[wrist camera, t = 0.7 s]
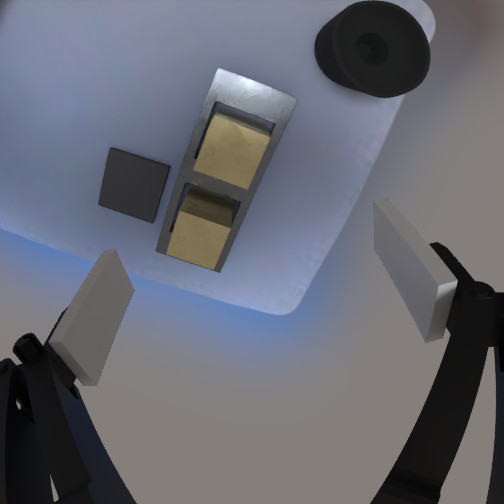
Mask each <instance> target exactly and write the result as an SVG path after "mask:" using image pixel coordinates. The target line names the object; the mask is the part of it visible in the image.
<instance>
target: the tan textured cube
mask: <svg viewBox="0 0 504 504" xmlns="http://www.w3.org/2000/svg"><path fill="white" fill-rule="evenodd" d="M233 205H234V199H233V198H230V197H227V196H224V195H221V194H219V193H216V192H213V191H210V190H207V189H205V188H202V187H199V186H196V185H193V184H192V185H191V187H190V189H189V191H188V193H187V196H186V198H185V200H184V202H183V204H182V206H181V209H180V211H179V214H178V217H177V220H176V223H175V226H174V230H173V233H172V236H171V239H170V243H169V246H168V249H167V253H166V254H167V255H170V256H173V257H176V258H179V259H182V260H185V261H188V262H191V263H194V264H197V265H200V266H203V267H206V268H209V269H212V270H214V268H215V266H216V263H217V261H218V258H219V256H220V254H221V251H222V249H223V246H224V244H225V242H226V239H227V237H228V235H229V232H230V230H231V224H232V215H233Z"/></svg>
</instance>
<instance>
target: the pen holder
mask: <svg viewBox="0 0 504 504" xmlns="http://www.w3.org/2000/svg"><path fill="white" fill-rule="evenodd" d="M315 56H316V60H317V62H318V64H319V66H320V68H321V70H322V71H323V72H324V73H325V74H326V75H327V76H328V77H329V78H330V79H331V80H332V81H334V82H336V83H338V84H340V85H342V86H345V87H347V88H350V89H354V90H357V91H360V92H363V93H366V94H369V95H372V96H375V97H379V98H390V97H395V96H399V95H402V94H405V93H407V92H409V91H411V90H413V89H414V88H416V87H417V86H419V85H420V83H422V81H423V80H424V78H425V77H426V75H427V72H428V69H429V66H430V48H429V43H428V40H427V37H426V35H425V33H424V31H423V29H422V27H421V26H420V24H419V23H418V22H417V20H416V19H415V18H414V17H413V16H412V15H411V14H410V13H409V12H407V11H406V10H405V9H403V8H401V7H400V6H398V5H395V4H393V3H389V2H385V1H376V0H372V1H361V2H357V3H354V4H352V5H350V6H348V7H347V8H345V9H344V10H343V11H341V12H340V13H339V14H338V15H336V16H335V17H334V18H333V19H331V20H330V21H329V22H328V23H327V24H326V25H325V26H324V27H323V28H322V29H321V30H320V32H319V33H318V35H317V38H316V41H315Z"/></svg>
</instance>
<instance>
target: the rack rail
mask: <svg viewBox="0 0 504 504" xmlns="http://www.w3.org/2000/svg"><path fill="white" fill-rule="evenodd" d="M297 100H298V99H297V98H295V97H293V96H290V95H288V94H286V93H283V92H281V91H279V90H276V89H274V88H271V87H269V86H266V85H264V84H261V83H259V82H256V81H254V80H251V79H248V78H246V77H243V76H240V75H237V74H235V73H232V72H229V71H226V70H223V69H220V68H218V70H217V73H216V75H215V77H214V80H213V82H212V85H211V87H210V90H209V92H208V95H207V97H206V100H205V102H204V105H203V107H202V110H201V113H200V115H199V118H198V121H197V123H196V126H195V129H194V132H193V134H192V137H191V140H190V143H189V146H188V148H187V151H186V154H185V157H184V160H183V163H182V166H181V169H180V172H179V175H178V178H177V181H176V184H175V187H174V190H173V194H172V197H171V200H170V203H169V207H168V210H167V213H166V217H165V220H164V223H163V227H162V230H161V234H160V237H159V241H158V244H157V248H156V252H159V253H162V254H165V255H167V254H166V253H167V249H168V246H169V243H170V239H171V236H172V233H173V230H174V226H175V225H173V221H174V218H175V215H176V212H177V209H178V205H179V202H180V199H181V196H182V193H183V190H184V187H185V184H186V182H187V183H190V184H193V185H196V186H199V187H202V188H205V189H207V190H210V191H213V192H216V193H219V194H221V195H224V196H227V197H230V198H233V199H235V200H238V201H240V202H239V204H238V206H237V209H236V211H235V213H234V216H233V218H232V224H231V230H230V232H229V235H228V237H227V239H226V242H225V244H224V246H223V249H222V251H221V254H220V256H219V258H218V261H217V263H216V266H215V268H214V270H213V271H216V272H219V273H220V272H221V269H222V267H223V265H224V263H225V260H226V258H227V256H228V253H229V251H230V249H231V246H232V244H233V242H234V239H235V237H236V235H237V233H238V230H239V228H240V226H241V224H242V221H243V219H244V217H245V214H246V212H247V210H248V208H249V205H250V203H251V201H252V199H253V196H254V194H255V192H256V190H257V187H258V185H259V183H260V181H261V178H262V176H263V174H264V172H265V170H266V167H267V165H268V163H269V161H270V159H271V156H272V154H273V152H274V150H275V148H276V145H277V143H278V141H279V139H280V137H281V134H282V132H283V130H284V128H285V126H286V123H287V121H288V119H289V117H290V115H291V113H292V111H293V108H294V106H295V104H296V102H297ZM216 101H218V102H221V103H224V104H226V105H229V106H232V107H235V108H237V109H240V110H243V111H245V112H248V113H251V114H253V115H256V116H258V117H261V118H263V119H266V120H268V121H271V122H273V123H274V124H273V126H272V129H271V131H270V133H269V134H270V137H271V138H270V140H269V142H268V145H267V147H266V149H265V151H264V154H263V156H262V158H261V160H260V163H259V165H258V167H257V169H256V172H255V174H254V176H253V179H252V181H251V183H250V186H249V188H248V190H247V189H245V188H242V187H239V186H237V185H234V184H231V183H228V182H226V181H223V180H220V179H217V178H214V177H212V176H209V175H206V174H203V173H200V172H197V171H195V170H193V169H194V166H195V164H196V161H197V158H198V154H196V153H197V150H198V147H199V145H200V142H201V139H202V136H203V134H204V131H205V128H206V126H207V123H208V121H209V118H210V115H211V113H212V110H213V108H214V105H215V103H216ZM168 256H170V255H168ZM171 257H173V256H171ZM174 258H176V257H174ZM177 259H179V258H177ZM180 260H182V259H180ZM183 261H185V260H183ZM186 262H188V261H186ZM189 263H191V262H189ZM192 264H194V263H192ZM195 265H197V264H195ZM198 266H200V265H198ZM201 267H203V266H201ZM204 268H206V267H204ZM207 269H209V268H207ZM210 270H212V269H210Z"/></svg>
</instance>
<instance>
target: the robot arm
mask: <svg viewBox="0 0 504 504" xmlns="http://www.w3.org/2000/svg"><path fill="white" fill-rule="evenodd" d="M373 205H374V250H375V251H376V253H377V255H378V256H379V258H380V260H381V261H382V263H383V265H384V267H385V268H386V270H387V272H388V273H389V275H390V277H391V279H392V280H393V282H394V284H395V286H396V287H397V289H398V291H399V293H400V295H401V297H402V298H403V300H404V302H405V304H406V306H407V308H408V309H409V311H410V313H411V315H412V317H413V319H414V321H415V323H416V324H417V327H418V328H419V330H420V333H421V335H422V337H423V338H424V341H425V343H428V342H431V341H435V340H438V339H441V338H443V336H444V332H445V329H446V327H447V329H448V331H449V333H450V334H451V335H450V338H449V341H448V344H447V348H446V350H445V353H444V356H443V359H442V362H441V364H440V367H439V370H438V372H437V375H436V378H435V380H434V383H433V385H432V388H431V390H430V392H429V395H428V397H427V400H426V402H425V404H424V406H423V409H422V411H421V413H420V415H419V417H418V420H417V422H416V424H415V426H414V428H413V430H412V432H411V434H410V436H409V438H408V440H407V442H406V444H405V446H404V448H403V450H402V451H401V453H400V455H399V457H398V459H397V461H396V462H395V464H394V466H393V468H392V470H391V471H390V473H389V475H388V476H387V478H386V480H385V481H384V483H383V484H382V486H381V488H380V489H379V491H378V492H377V494H376V496H375V497H374V498H373V500H372V502H371V503H370V504H438V502H439V498H440V490H441V487H442V485H443V483H444V481H445V479H446V476H447V474H448V472H449V470H450V468H451V465H452V463H453V461H454V458H455V456H456V453H457V451H458V448H459V446H460V443H461V441H462V438H463V435H464V433H465V430H466V427H467V424H468V421H469V418H470V415H471V412H472V409H473V406H474V402H475V399H476V395H477V392H478V388H479V385H480V381H481V377H482V373H483V369H484V365H485V361H486V356H487V351H488V347H494V355H495V373H496V424H495V440H494V452H493V462H492V470H491V477H490V484H489V490H488V496H487V501H486V504H504V292H502V293H501V292H498V293H497V292H495V291H494V289H493V288H492V287H491V286H490V285H488V284H486V283H483V282H479V281H474V279H473V278H472V277H471V276H470V274H469V273H468V272H467V271H466V269H465V268H464V267H463V266H462V265H461V263H460V262H458V260H457V259H456V258H455V257H454V256H453V254H452V253H451V252H450V251H449V249H448V248H446V247H445V246H443V245H441V244H440V243H438V242H435V243H431V244H428V243H427V241H426V240H425V239H424V238H423V237H422V236H421V234H420V233H419V232H418V231H417V230H416V229H415V227H414V226H413V225H412V224H411V223H410V222H409V221H408V220H407V219H406V217H405V216H404V215H403V214H402V213H401V212H400V211H399V210H398V209H397V208H396V206H395V205H394V204H393V203H392V202H391V201H390V200H389V199H388V198H385V199H379V200H374V201H373ZM133 293H134V288H133V286H132V284H131V282H130V280H129V278H128V275H127V273H126V271H125V269H124V267H123V265H122V263H121V261H120V258H119V256H118V254H117V252H116V250H115V249H112V250H108V251H103V253H102V254H101V256H100V257H99V259H98V260H97V262H96V263H95V265H94V266H93V268H92V270H91V271H90V273H89V274H88V276H87V277H86V279H85V281H84V282H83V284H82V285H81V287H80V289H79V290H78V292H77V293H76V295H75V297H74V298H73V300H72V302H71V303H70V305H69V306H68V307H67V308H66V309H65V310H64V311H63V312H62V314H61V316H60V317H59V319H58V322H56V324H55V326H54V328H53V329H52V331H51V333H50V335H49V336H48V338H47V340H46V342H45V344H44V346H43V345H42V344H41V343H40V341H39V340H38V339H37V337H36V336H35V335H34V334H33V333H28V334H25V335H23V336H22V337H21V338H19V339H18V340H17V342H16V343H15V345H14V347H13V352H14V354H15V355H16V356H17V357H18V359H19V360H20V361H21V362H22V364H19V365H16V364H15V363H14V362H13V361H12V360H11V359H10V358H7V359H4V360H3V361H1V362H0V504H137V503H136V502H135V500H134V499H133V497H132V495H131V494H130V492H129V490H128V489H127V487H126V486H125V484H124V482H123V480H122V479H121V477H120V475H119V474H118V472H117V470H116V468H115V466H114V465H113V463H112V461H111V459H110V457H109V455H108V453H107V451H106V449H105V447H104V446H103V444H102V442H101V440H100V437H99V436H98V434H97V431H96V429H95V427H94V425H93V423H92V420H91V419H90V416H89V414H88V412H87V409H86V407H85V405H84V402H83V400H82V397H81V395H80V393H79V390H78V388H77V387H76V385H74V381H75V379H76V378H77V379H78V380H79V381H80V382H81V383H82V384H83V385H84V386H97V384H98V381H99V379H100V376H101V373H102V370H103V367H104V365H105V362H106V360H107V357H108V354H109V352H110V349H111V346H112V344H113V341H114V339H115V336H116V334H117V331H118V329H119V326H120V324H121V321H122V319H123V316H124V314H125V311H126V309H127V307H128V304H129V302H130V300H131V297H132V295H133ZM16 401H17V402H18V403H19V404H20V405H21V408H20V409H18V407H17V404H16ZM50 475H51V478H52V480H53V483H54V486H55V489H56V491H57V494H58V497H59V499H58V501H56V502H54V500H53V494H52V487H51V479H50Z"/></svg>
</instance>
